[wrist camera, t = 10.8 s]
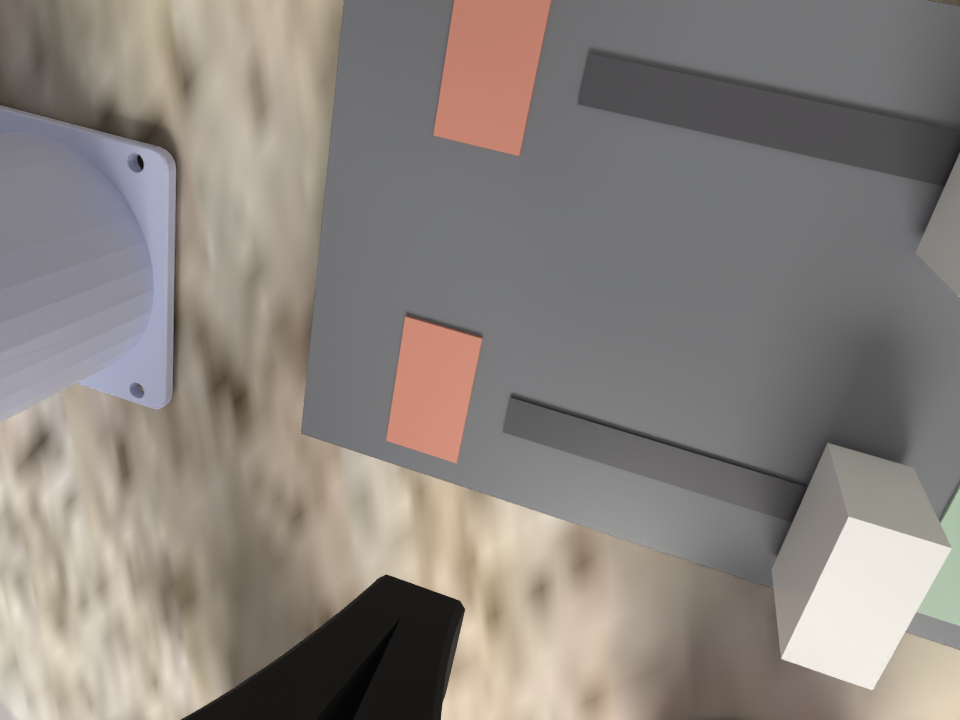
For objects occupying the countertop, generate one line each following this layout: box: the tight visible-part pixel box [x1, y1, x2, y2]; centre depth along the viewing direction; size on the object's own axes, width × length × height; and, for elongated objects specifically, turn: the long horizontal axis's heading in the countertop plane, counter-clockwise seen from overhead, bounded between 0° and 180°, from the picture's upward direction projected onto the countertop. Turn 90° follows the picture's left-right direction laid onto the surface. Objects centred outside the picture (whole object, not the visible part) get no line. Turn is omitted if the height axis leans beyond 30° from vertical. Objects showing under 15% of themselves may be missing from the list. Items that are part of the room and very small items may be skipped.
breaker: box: [771, 443, 952, 690], centre depth 16 cm, size 2×4×3 cm, turn 169°
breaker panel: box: [301, 0, 960, 650], centre depth 17 cm, size 20×13×2 cm, turn 79°
